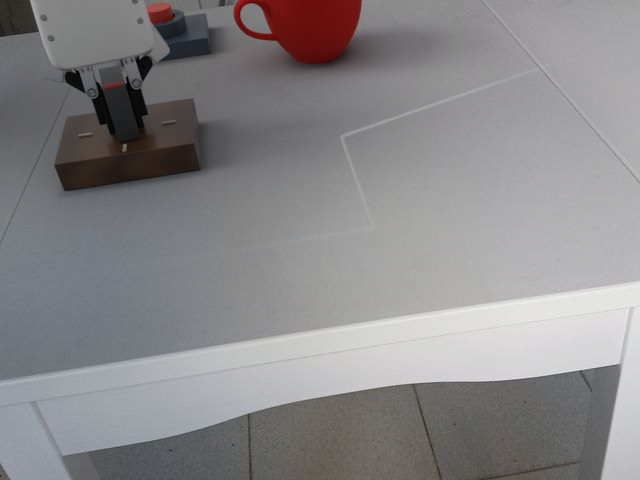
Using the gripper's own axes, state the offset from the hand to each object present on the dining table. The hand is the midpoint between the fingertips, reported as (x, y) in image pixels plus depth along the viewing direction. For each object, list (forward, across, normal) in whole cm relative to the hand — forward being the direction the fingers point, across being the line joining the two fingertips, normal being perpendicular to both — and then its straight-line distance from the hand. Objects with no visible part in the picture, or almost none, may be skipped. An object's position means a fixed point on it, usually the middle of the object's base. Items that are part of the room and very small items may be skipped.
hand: (125, 124), depth 76 cm
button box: (+4, -8, -30) cm, 31 cm away
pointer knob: (+1, 0, 0) cm, 1 cm away
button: (0, -8, -30) cm, 31 cm away
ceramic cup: (+4, -24, -16) cm, 29 cm away
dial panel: (+4, 0, 0) cm, 4 cm away
